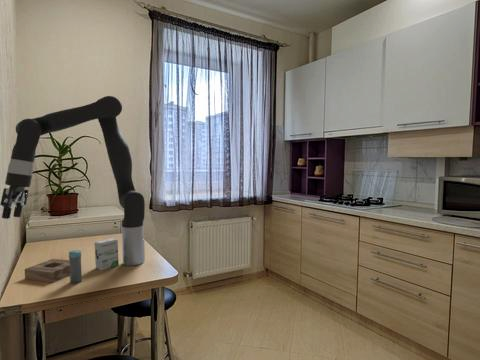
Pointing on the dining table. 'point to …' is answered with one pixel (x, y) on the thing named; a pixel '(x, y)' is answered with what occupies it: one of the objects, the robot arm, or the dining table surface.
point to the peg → (75, 266)
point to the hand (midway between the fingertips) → (11, 217)
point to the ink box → (106, 254)
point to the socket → (49, 270)
